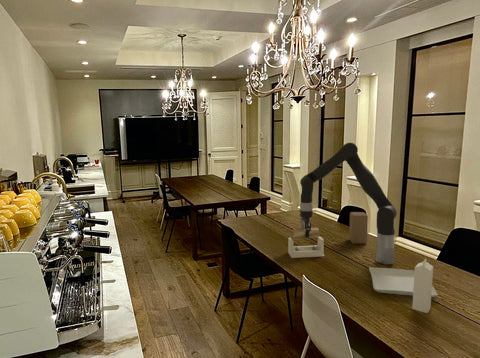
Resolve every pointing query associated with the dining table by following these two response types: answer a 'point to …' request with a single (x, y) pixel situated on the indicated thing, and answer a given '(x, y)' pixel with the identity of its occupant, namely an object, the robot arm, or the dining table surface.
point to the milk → (422, 287)
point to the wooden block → (358, 227)
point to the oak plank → (301, 232)
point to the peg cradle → (306, 249)
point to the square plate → (394, 281)
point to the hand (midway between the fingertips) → (305, 235)
